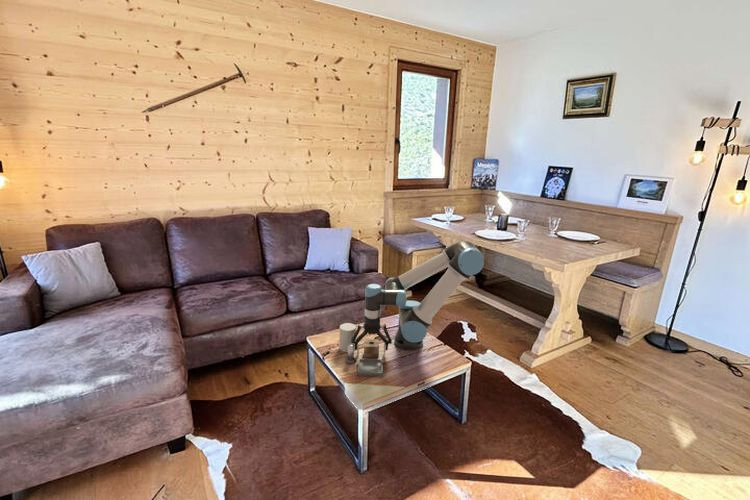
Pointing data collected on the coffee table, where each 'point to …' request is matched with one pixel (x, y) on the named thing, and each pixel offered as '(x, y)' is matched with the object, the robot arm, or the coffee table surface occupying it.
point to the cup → (346, 335)
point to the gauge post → (350, 354)
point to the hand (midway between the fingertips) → (371, 355)
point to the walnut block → (371, 349)
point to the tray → (370, 367)
